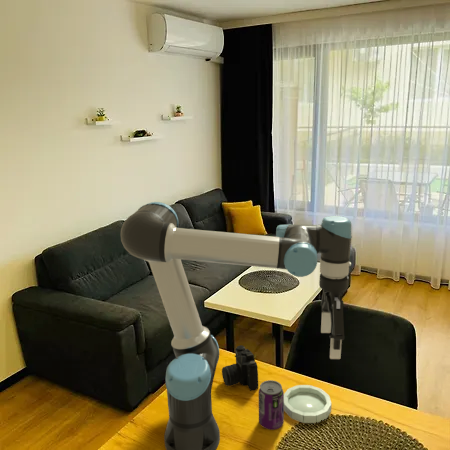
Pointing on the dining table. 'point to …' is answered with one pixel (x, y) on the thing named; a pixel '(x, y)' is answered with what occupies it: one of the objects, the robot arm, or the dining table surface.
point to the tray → (307, 403)
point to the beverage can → (271, 405)
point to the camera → (242, 370)
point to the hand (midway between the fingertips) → (330, 344)
